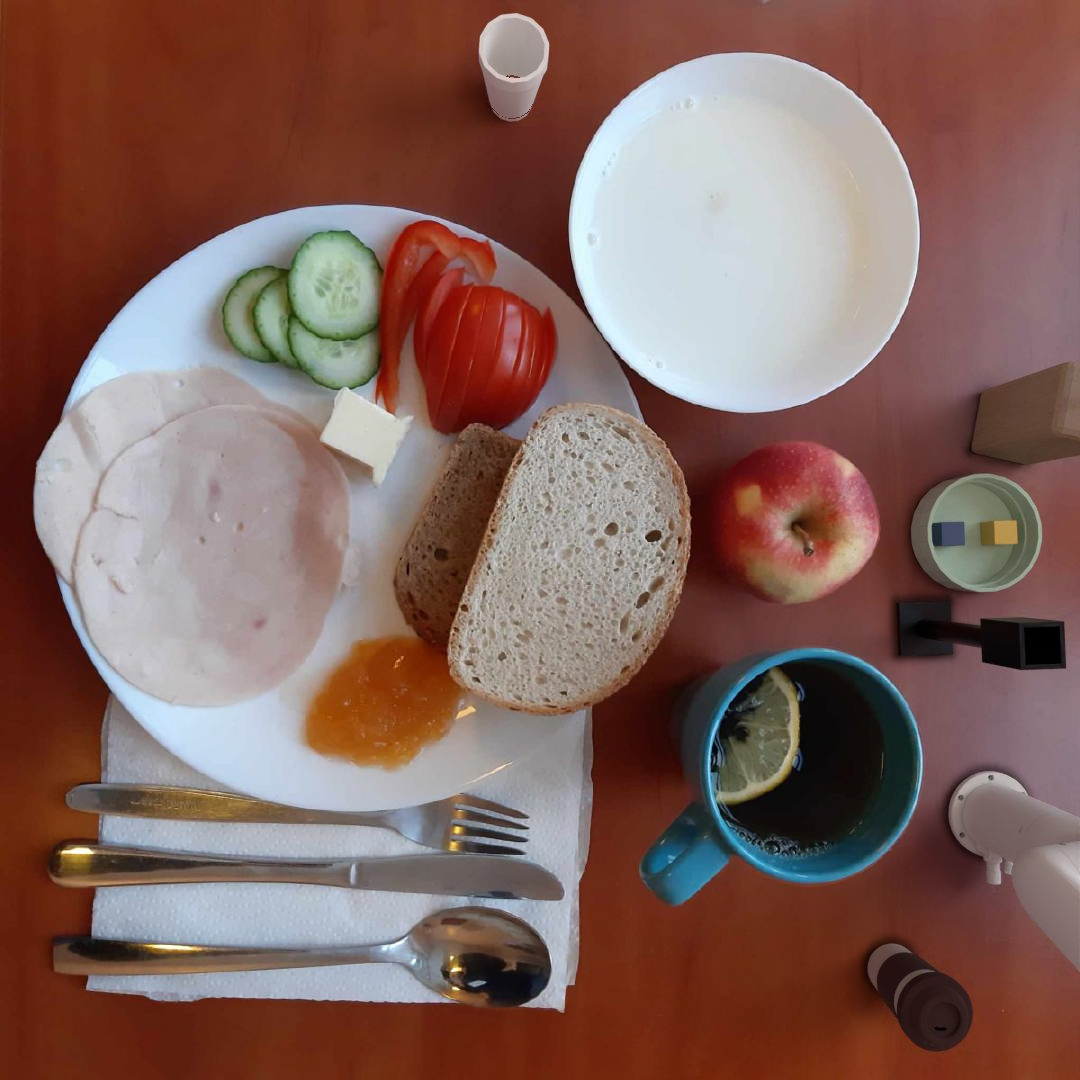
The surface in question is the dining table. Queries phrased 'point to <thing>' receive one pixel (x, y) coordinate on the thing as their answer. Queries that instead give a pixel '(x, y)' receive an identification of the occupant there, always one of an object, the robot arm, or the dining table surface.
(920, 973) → the coffee cup
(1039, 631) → the holder
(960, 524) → the navy block
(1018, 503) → the bowl
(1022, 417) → the wooden block
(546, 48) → the foam cup
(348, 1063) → the dining table surface
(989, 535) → the mustard block
